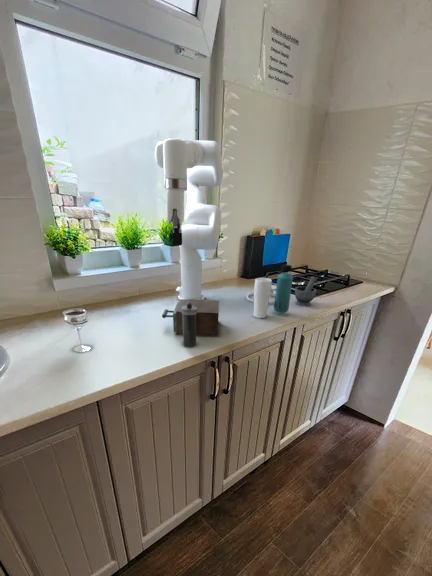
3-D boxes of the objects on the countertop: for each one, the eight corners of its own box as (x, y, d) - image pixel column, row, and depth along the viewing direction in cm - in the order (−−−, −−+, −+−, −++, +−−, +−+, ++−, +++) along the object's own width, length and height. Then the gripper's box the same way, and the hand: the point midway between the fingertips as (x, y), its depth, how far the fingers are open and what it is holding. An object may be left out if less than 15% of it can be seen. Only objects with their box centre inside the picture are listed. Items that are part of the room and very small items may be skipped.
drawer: (160, 331, 114) (159, 312, 111) (166, 318, 126) (165, 301, 122) (211, 333, 114) (211, 314, 111) (212, 320, 126) (213, 303, 122)
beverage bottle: (288, 312, 140) (296, 264, 129) (286, 317, 134) (294, 267, 124) (274, 310, 141) (280, 262, 131) (271, 315, 136) (277, 265, 126)
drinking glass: (267, 319, 131) (271, 282, 123) (250, 318, 132) (254, 281, 124) (268, 314, 136) (272, 278, 128) (252, 313, 137) (255, 277, 130)
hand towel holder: (239, 290, 152) (261, 282, 166) (239, 299, 154) (261, 291, 168) (271, 297, 143) (291, 288, 157) (270, 306, 145) (290, 297, 160)
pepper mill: (179, 344, 107) (177, 302, 100) (188, 340, 111) (188, 299, 103) (190, 348, 105) (190, 306, 97) (200, 344, 108) (200, 302, 101)
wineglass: (70, 345, 103) (61, 309, 97) (92, 343, 106) (85, 307, 100) (71, 354, 98) (62, 316, 92) (94, 351, 101) (87, 314, 94)
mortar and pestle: (305, 308, 145) (310, 281, 139) (288, 303, 151) (292, 277, 145) (319, 303, 152) (324, 277, 146) (302, 299, 158) (306, 274, 152)
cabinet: (176, 334, 114) (176, 311, 110) (181, 320, 127) (180, 299, 122) (217, 336, 114) (218, 313, 110) (218, 322, 127) (219, 300, 122)
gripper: (168, 185, 114) (170, 241, 123) (161, 184, 101) (164, 247, 110) (189, 186, 114) (189, 242, 123) (184, 185, 101) (185, 248, 110)
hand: (177, 244), depth 117 cm, fingers closed
